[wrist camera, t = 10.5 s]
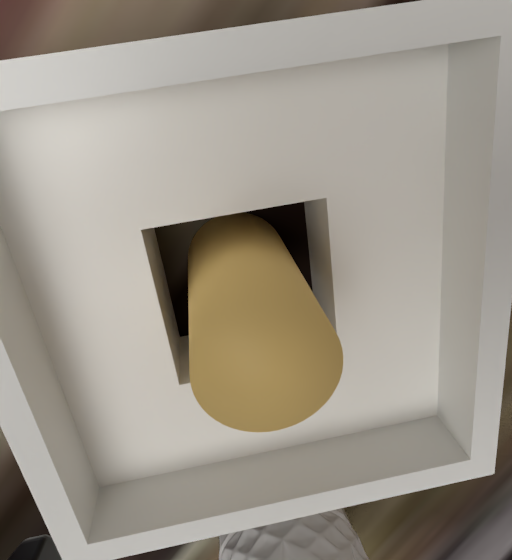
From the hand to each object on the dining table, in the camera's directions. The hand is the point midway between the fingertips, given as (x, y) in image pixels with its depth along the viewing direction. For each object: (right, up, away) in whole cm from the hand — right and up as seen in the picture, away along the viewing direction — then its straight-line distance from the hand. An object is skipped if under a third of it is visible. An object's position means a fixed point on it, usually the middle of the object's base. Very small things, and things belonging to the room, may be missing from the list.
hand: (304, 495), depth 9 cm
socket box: (-2, +5, +11) cm, 12 cm away
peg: (-2, +5, +11) cm, 12 cm away
